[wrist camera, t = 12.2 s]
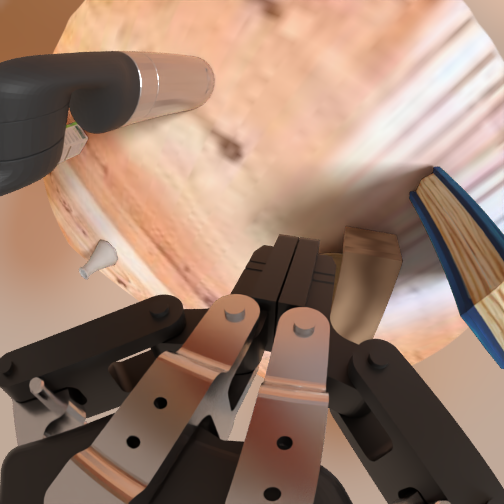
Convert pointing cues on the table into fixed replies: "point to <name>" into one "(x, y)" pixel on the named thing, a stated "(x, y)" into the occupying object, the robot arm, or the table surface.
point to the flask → (99, 259)
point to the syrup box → (73, 141)
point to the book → (466, 255)
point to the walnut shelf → (364, 282)
